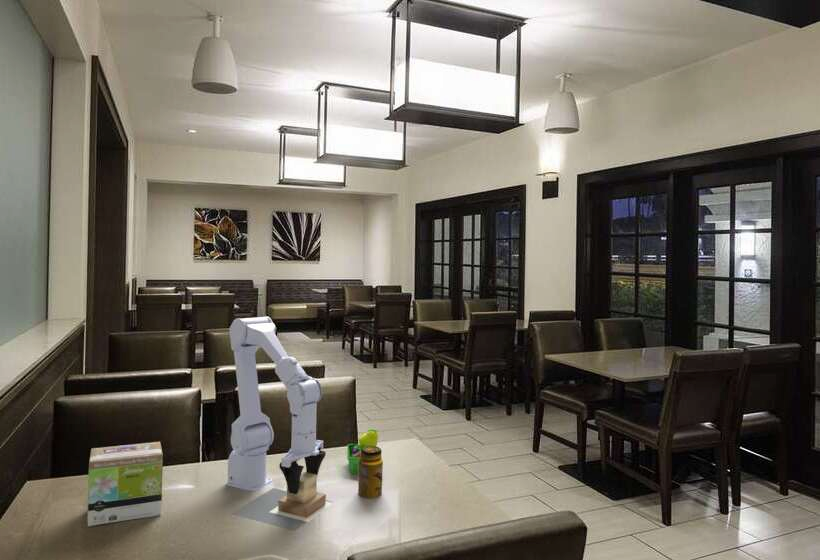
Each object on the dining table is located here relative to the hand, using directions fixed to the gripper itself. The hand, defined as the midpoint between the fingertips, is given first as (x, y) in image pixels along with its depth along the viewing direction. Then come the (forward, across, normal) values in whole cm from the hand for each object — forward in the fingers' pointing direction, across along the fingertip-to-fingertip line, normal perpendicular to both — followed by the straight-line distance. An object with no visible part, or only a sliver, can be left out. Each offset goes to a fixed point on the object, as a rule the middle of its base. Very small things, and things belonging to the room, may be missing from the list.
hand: (302, 486), depth 134 cm
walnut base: (+5, 0, 0) cm, 5 cm away
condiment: (+6, +14, -10) cm, 18 cm away
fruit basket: (+6, +30, 0) cm, 31 cm away
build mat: (+5, -2, +4) cm, 7 cm away
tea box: (+6, -20, +35) cm, 41 cm away
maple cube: (+2, 0, 0) cm, 3 cm away
